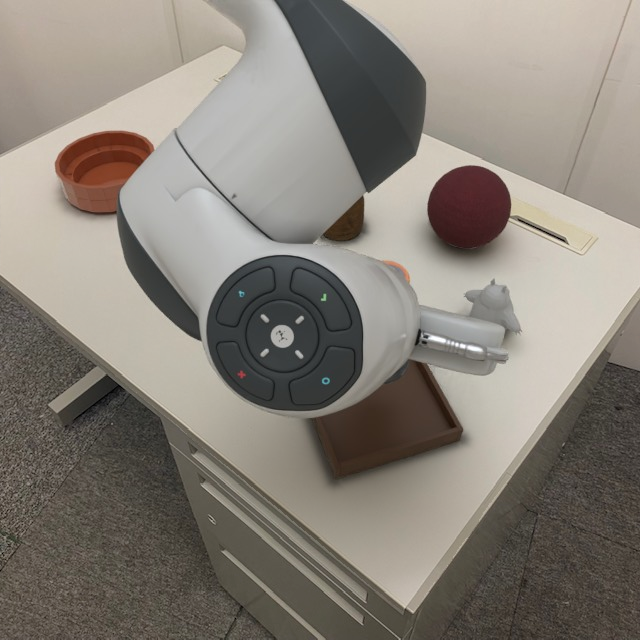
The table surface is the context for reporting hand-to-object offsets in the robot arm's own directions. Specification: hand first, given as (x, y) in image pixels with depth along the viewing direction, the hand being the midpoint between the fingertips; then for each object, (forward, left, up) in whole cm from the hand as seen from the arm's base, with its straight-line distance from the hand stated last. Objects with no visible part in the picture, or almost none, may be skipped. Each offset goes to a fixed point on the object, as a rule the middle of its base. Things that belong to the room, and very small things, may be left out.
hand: (382, 314), depth 56 cm
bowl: (-21, +45, -13) cm, 52 cm away
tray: (0, -1, -13) cm, 13 cm away
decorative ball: (+20, +19, -13) cm, 31 cm away
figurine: (+15, +4, -13) cm, 20 cm away
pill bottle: (0, -1, -6) cm, 6 cm away
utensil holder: (+6, +26, -13) cm, 30 cm away
